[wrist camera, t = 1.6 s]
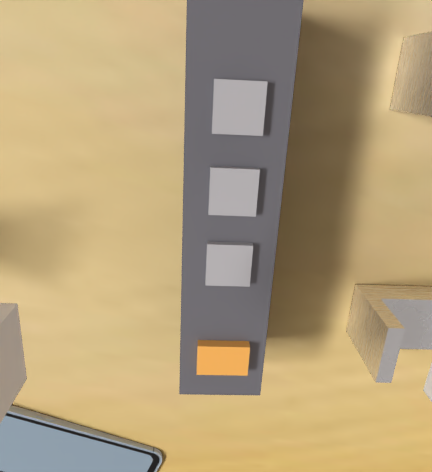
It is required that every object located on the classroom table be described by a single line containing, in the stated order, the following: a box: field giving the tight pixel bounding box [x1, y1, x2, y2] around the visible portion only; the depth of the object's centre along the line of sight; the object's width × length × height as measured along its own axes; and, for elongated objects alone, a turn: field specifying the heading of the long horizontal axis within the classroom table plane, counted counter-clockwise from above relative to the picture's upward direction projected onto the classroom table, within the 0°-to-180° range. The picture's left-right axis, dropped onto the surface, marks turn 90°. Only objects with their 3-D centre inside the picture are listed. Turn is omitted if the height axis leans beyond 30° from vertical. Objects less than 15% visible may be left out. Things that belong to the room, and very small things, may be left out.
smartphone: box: [0, 405, 162, 472], centre depth 34 cm, size 7×1×15 cm
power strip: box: [180, 0, 303, 395], centre depth 24 cm, size 22×5×7 cm, turn 177°
